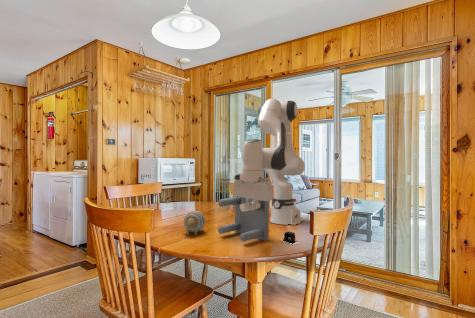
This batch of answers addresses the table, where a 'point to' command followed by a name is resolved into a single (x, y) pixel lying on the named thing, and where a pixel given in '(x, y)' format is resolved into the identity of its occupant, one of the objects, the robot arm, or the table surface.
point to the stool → (247, 220)
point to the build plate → (288, 236)
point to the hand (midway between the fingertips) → (251, 209)
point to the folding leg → (245, 208)
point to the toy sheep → (194, 222)
